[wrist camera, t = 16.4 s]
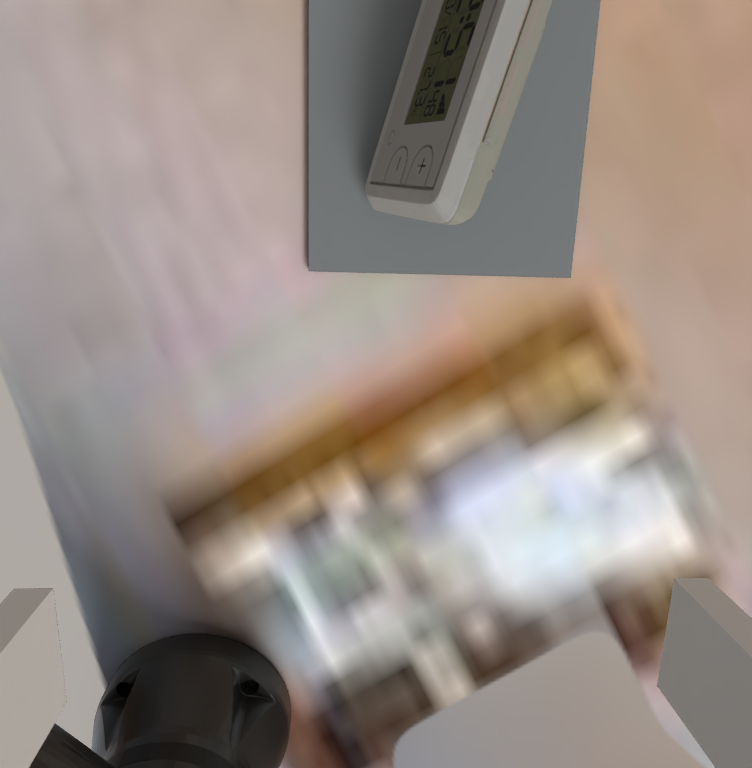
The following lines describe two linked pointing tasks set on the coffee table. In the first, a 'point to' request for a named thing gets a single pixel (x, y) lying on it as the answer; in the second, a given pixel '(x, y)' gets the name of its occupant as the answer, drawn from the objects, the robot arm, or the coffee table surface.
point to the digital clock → (453, 106)
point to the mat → (509, 180)
